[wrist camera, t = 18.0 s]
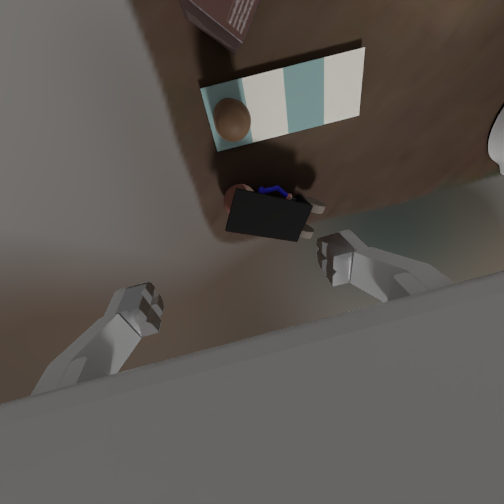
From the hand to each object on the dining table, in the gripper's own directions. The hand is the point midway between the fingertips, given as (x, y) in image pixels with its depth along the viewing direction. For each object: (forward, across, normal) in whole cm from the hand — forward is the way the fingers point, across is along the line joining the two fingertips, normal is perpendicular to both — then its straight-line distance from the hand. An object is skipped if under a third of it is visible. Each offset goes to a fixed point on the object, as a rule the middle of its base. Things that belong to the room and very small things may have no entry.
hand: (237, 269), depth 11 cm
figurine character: (+25, +6, -9) cm, 28 cm away
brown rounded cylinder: (+24, +3, +4) cm, 25 cm away
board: (+25, +10, +4) cm, 27 cm away
